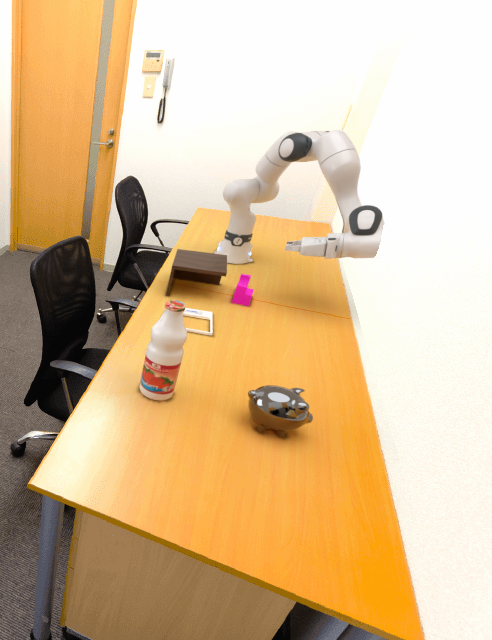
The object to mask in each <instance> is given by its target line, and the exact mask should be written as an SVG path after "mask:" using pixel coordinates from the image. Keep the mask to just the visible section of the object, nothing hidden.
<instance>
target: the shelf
mask: <svg viewBox="0 0 492 640" xmlns="http://www.w3.org/2000/svg"><path fill="white" fill-rule="evenodd" d="M227 274H228V263H227V255H222V254H214V252H204V251H197V250H189V249H181V248H177V250H176V252H175V255H174V258H173V261H172V265H171V269H170V273H169V279H168V283H167V288H166V292H165V296H166V297H169V296H170V293H171V290H172V288H173V287H172V286H173V284H174V280H175V279H176V280H181V281H182V280H183V281H189V282H195V283H204V284H210V285H215V286H220V284H221V280H222V277H227Z"/></svg>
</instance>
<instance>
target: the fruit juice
mask: <svg viewBox="0 0 492 640" xmlns="http://www.w3.org/2000/svg"><path fill="white" fill-rule="evenodd" d="M185 308H186V304H185V303H184V302H182V301H180V300H175V299H172V300H171V299H170V300H167V301H166V302H165V304H164V311H163V313H162V314H161V316H160V317H159V319H158V320H157V321H156V322H155V323H154V324H153V325H152V328H151V329H150V341H149V342H148V344H147V347H146V351H145V356H144V360H143V366H142V371H141V376H140V381H139V391H140V393H141V394H142V395H143V396H144V397H146V398H148V399H151V400H153V401H154V400H155V401H167V400H169V399H171V398H172V396H173V395H174V393H175V388H176V385H177V382H178V376H179V374H180V369H181V365H182V361H183V357H184V345H185V344H186V341H187V339H188V331H187V330H186V328H187V327H186V326H185V321H184V315H183V312H184V310H185Z"/></svg>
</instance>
